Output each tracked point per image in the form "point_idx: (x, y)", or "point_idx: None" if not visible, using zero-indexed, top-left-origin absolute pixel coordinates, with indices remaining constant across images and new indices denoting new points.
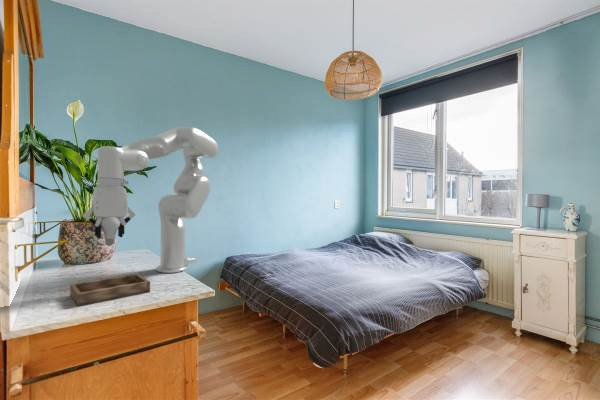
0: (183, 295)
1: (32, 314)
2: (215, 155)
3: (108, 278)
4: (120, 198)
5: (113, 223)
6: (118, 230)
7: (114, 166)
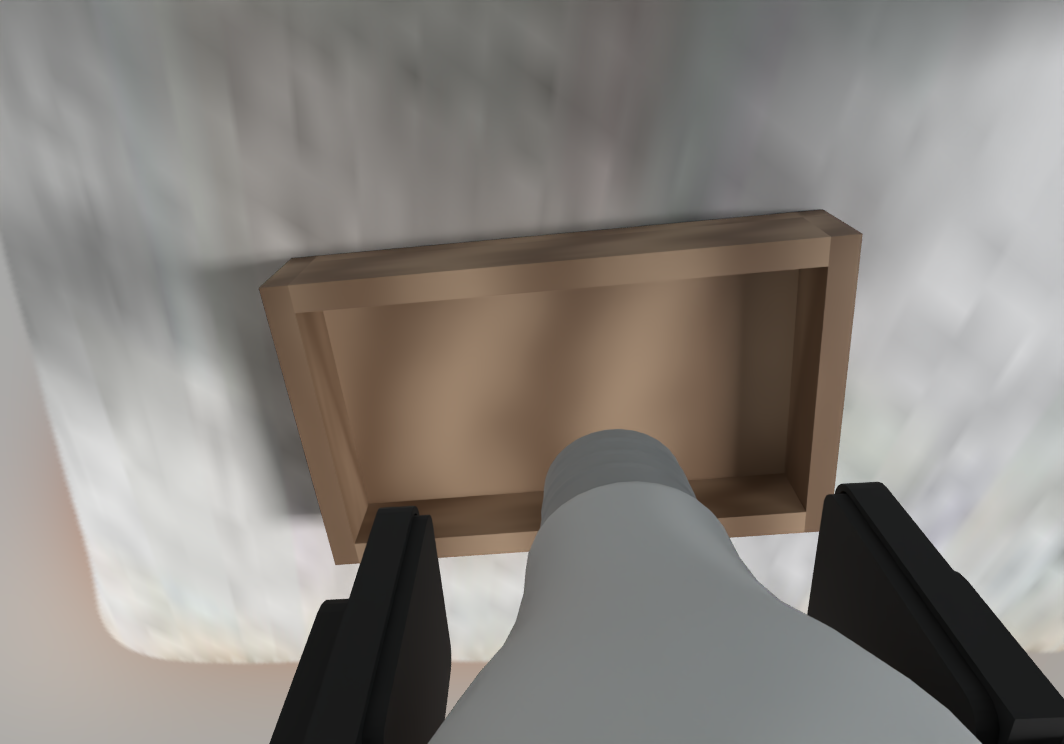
0: None
1: (137, 507)
2: None
3: (572, 262)
4: None
5: None
6: (886, 610)
7: None
